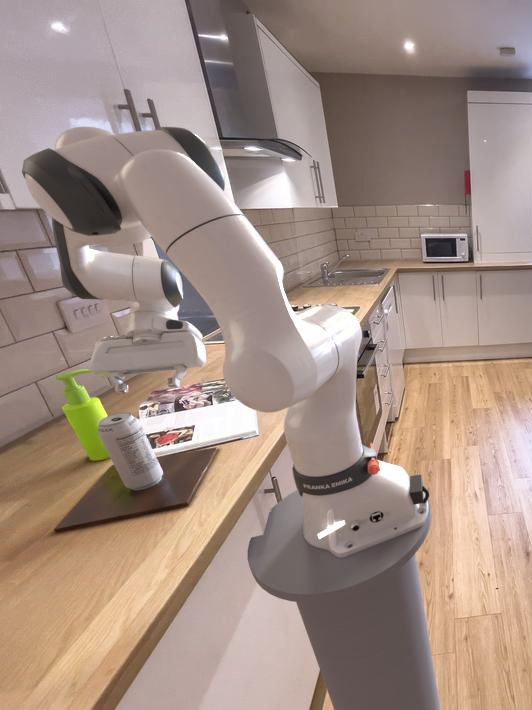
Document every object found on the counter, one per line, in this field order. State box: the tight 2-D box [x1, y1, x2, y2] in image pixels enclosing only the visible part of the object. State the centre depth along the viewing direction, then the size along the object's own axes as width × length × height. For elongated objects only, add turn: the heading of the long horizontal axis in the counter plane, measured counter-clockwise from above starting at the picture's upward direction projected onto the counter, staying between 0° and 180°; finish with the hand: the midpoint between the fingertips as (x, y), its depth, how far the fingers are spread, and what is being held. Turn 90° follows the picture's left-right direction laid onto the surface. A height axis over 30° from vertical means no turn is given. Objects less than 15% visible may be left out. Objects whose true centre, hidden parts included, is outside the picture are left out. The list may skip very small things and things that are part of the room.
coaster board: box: [53, 446, 219, 533], centre depth 83 cm, size 20×20×1 cm
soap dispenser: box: [55, 368, 111, 462], centre depth 91 cm, size 6×7×20 cm
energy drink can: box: [97, 411, 163, 490], centre depth 80 cm, size 6×6×15 cm
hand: (147, 389), depth 87 cm, fingers open, 8 cm apart
